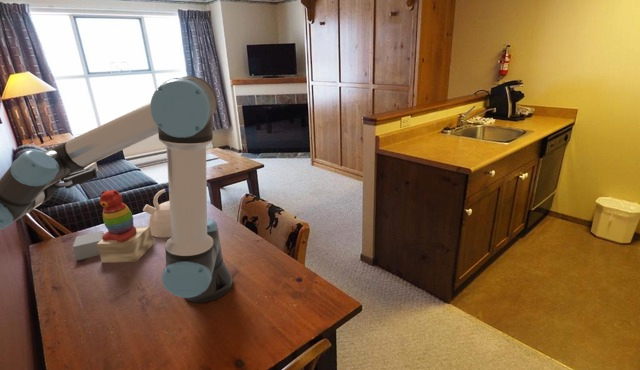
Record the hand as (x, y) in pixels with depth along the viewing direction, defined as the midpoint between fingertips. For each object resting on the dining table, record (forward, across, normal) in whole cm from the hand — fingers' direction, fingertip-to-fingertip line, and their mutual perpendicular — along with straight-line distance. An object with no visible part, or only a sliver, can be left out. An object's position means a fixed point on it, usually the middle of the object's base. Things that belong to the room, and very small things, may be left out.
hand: (73, 168), depth 106 cm
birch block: (+11, +4, -38) cm, 40 cm away
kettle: (+30, +16, -38) cm, 52 cm away
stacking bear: (+11, +4, -30) cm, 33 cm away
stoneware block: (+16, -11, -38) cm, 43 cm away
